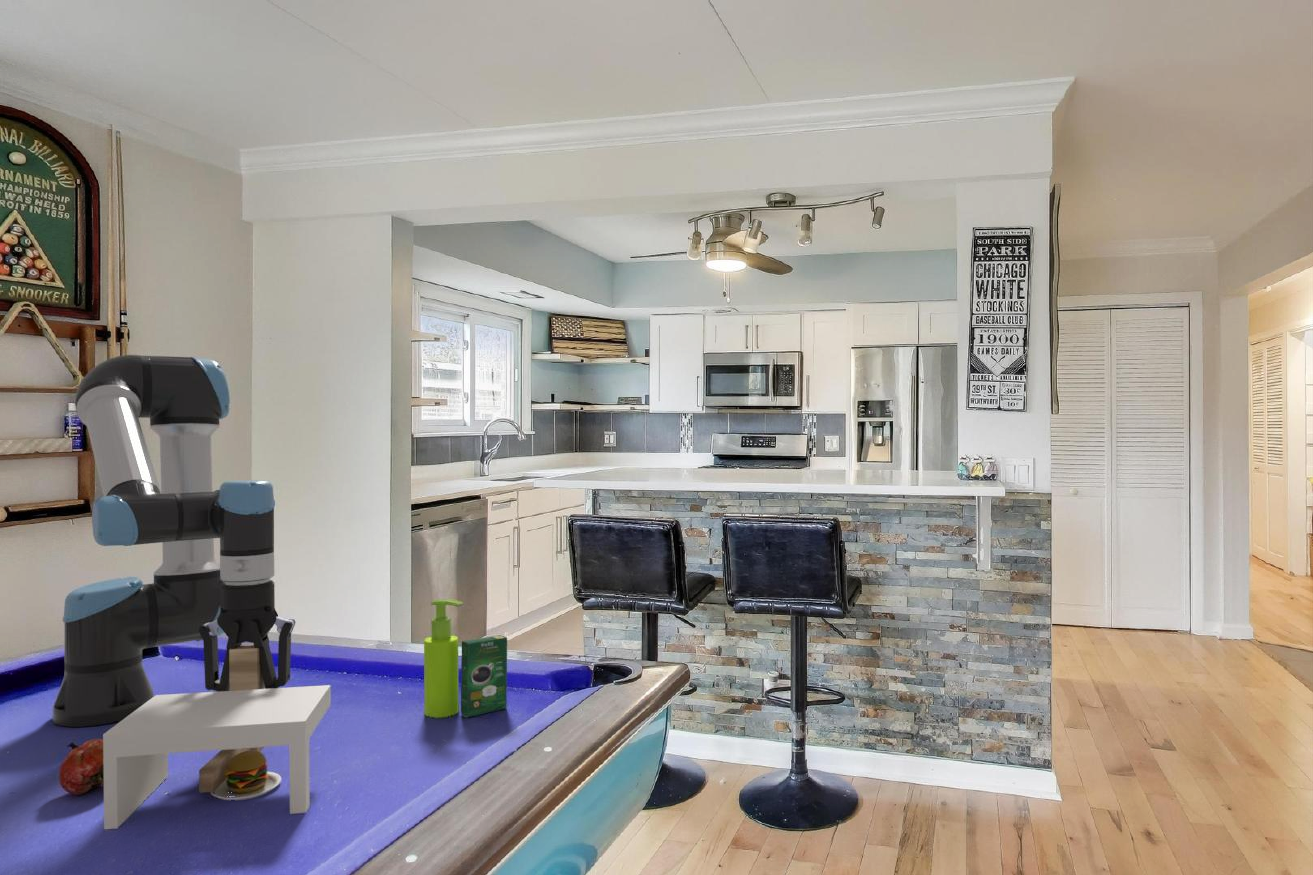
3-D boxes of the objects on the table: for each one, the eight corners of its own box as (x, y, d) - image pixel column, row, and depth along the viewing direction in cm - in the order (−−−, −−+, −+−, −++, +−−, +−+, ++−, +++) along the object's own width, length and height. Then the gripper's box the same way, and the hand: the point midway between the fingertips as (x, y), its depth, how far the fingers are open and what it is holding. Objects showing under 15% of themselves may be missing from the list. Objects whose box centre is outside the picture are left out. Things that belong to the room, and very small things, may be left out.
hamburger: (202, 819, 108) (202, 777, 108) (194, 787, 118) (193, 748, 118) (301, 796, 115) (300, 757, 115) (285, 767, 125) (284, 731, 125)
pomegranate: (132, 797, 119) (99, 746, 123) (144, 765, 116) (109, 714, 120) (75, 824, 113) (41, 769, 116) (86, 790, 110) (51, 735, 113)
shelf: (156, 777, 120) (155, 695, 120) (331, 764, 125) (330, 684, 125) (104, 829, 105) (103, 734, 105) (306, 812, 109) (305, 721, 109)
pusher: (239, 746, 130) (239, 643, 130) (266, 744, 130) (266, 642, 130) (190, 792, 112) (190, 674, 112) (221, 791, 113) (221, 672, 113)
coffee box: (500, 704, 152) (500, 633, 152) (508, 708, 150) (508, 636, 150) (460, 714, 147) (459, 640, 147) (467, 718, 145) (466, 643, 145)
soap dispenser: (455, 719, 145) (454, 604, 144) (418, 716, 146) (417, 602, 146) (469, 708, 150) (468, 597, 150) (434, 705, 152) (433, 596, 152)
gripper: (177, 587, 123) (178, 745, 123) (300, 583, 126) (301, 737, 126) (196, 578, 130) (197, 728, 130) (312, 575, 133) (313, 720, 133)
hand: (248, 732), depth 128 cm, fingers closed on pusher, 4 cm apart
